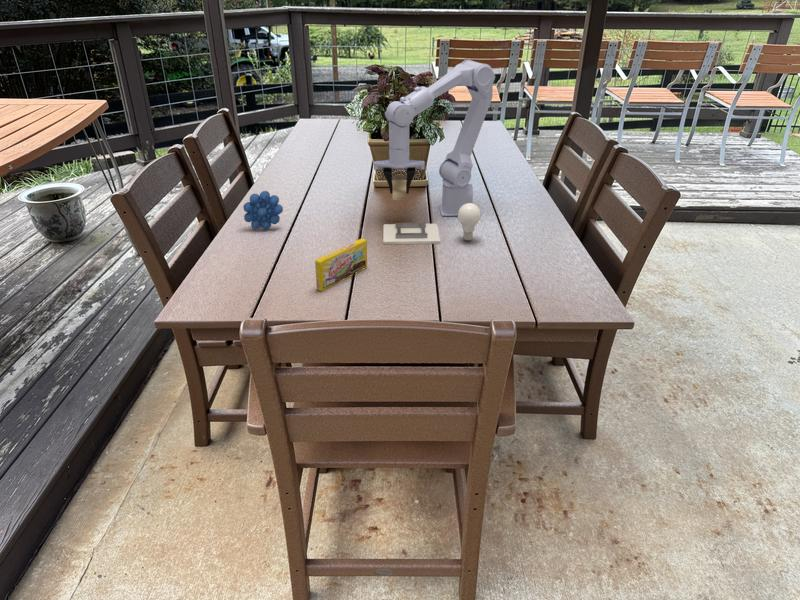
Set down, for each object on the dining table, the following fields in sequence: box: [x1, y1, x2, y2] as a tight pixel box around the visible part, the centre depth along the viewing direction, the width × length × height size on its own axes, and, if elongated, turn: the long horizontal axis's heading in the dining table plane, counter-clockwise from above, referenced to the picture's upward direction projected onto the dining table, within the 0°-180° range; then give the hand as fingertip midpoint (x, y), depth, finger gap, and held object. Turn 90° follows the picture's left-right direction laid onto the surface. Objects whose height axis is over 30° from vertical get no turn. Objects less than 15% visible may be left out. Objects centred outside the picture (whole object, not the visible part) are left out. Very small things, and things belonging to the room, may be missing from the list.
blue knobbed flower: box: [243, 190, 284, 231], centre depth 160 cm, size 12×7×12 cm, turn 91°
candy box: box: [314, 237, 368, 292], centre depth 135 cm, size 16×2×8 cm, turn 139°
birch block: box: [392, 174, 407, 201], centre depth 161 cm, size 4×4×6 cm
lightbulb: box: [457, 202, 482, 242], centre depth 152 cm, size 6×6×11 cm
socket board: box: [382, 222, 441, 245], centre depth 158 cm, size 16×12×2 cm
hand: (399, 192), depth 161 cm, fingers closed on birch block, 4 cm apart
